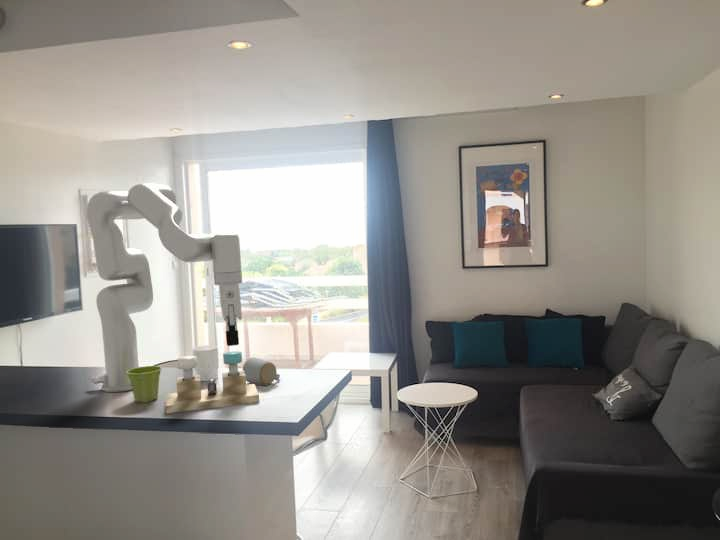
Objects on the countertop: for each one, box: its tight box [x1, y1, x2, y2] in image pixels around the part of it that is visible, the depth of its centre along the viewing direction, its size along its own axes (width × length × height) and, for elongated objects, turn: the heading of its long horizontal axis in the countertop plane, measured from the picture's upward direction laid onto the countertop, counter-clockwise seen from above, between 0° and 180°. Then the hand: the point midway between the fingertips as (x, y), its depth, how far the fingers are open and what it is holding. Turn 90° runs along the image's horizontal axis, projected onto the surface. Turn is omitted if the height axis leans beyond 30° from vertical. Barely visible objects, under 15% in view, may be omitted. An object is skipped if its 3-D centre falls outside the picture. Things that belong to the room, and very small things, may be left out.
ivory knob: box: [177, 355, 197, 381], centre depth 157 cm, size 5×5×8 cm
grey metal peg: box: [206, 379, 218, 396], centre depth 159 cm, size 2×2×4 cm
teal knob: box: [222, 350, 243, 376], centre depth 160 cm, size 5×5×8 cm
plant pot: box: [126, 365, 163, 403], centre depth 164 cm, size 9×9×9 cm
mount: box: [165, 369, 260, 414], centre depth 159 cm, size 24×12×7 cm, turn 106°
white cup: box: [192, 344, 219, 382], centre depth 185 cm, size 8×8×10 cm
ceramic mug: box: [242, 356, 281, 386], centre depth 177 cm, size 11×8×8 cm
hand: (232, 344), depth 160 cm, fingers closed
